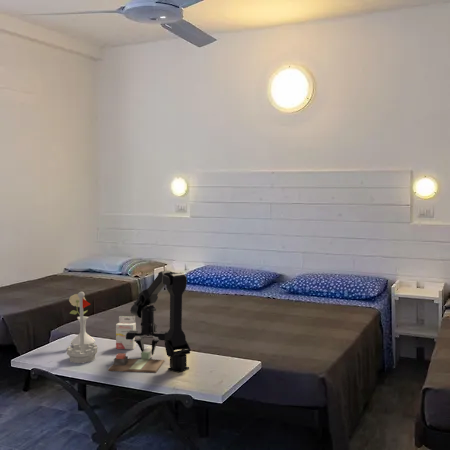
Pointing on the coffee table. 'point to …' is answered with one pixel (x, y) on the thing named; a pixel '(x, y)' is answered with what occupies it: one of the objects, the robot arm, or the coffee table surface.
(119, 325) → the ink cartridge box
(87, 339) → the flower in vase
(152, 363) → the brown control panel
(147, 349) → the block
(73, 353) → the flag stand
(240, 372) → the coffee table surface
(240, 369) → the coffee table surface
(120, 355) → the button
